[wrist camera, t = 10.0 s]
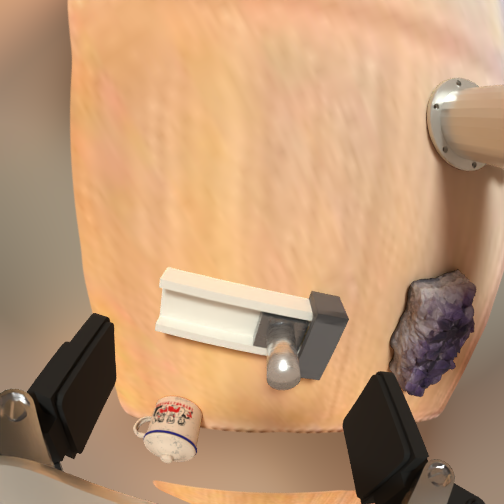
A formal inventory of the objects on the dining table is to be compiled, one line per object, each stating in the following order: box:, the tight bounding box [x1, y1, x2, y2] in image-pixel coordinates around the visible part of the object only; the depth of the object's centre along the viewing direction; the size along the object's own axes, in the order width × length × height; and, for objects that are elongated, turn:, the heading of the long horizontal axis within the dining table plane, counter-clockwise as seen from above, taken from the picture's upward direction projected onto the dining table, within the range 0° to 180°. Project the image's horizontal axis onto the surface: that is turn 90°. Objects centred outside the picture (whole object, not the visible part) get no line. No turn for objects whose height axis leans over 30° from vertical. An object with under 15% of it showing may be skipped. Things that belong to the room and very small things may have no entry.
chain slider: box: [253, 311, 309, 390], centre depth 36 cm, size 10×5×10 cm, turn 77°
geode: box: [389, 270, 476, 397], centre depth 38 cm, size 20×12×10 cm, turn 176°
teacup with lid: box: [133, 396, 202, 463], centre depth 45 cm, size 12×9×12 cm
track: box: [155, 267, 349, 380], centre depth 39 cm, size 24×10×6 cm, turn 77°
